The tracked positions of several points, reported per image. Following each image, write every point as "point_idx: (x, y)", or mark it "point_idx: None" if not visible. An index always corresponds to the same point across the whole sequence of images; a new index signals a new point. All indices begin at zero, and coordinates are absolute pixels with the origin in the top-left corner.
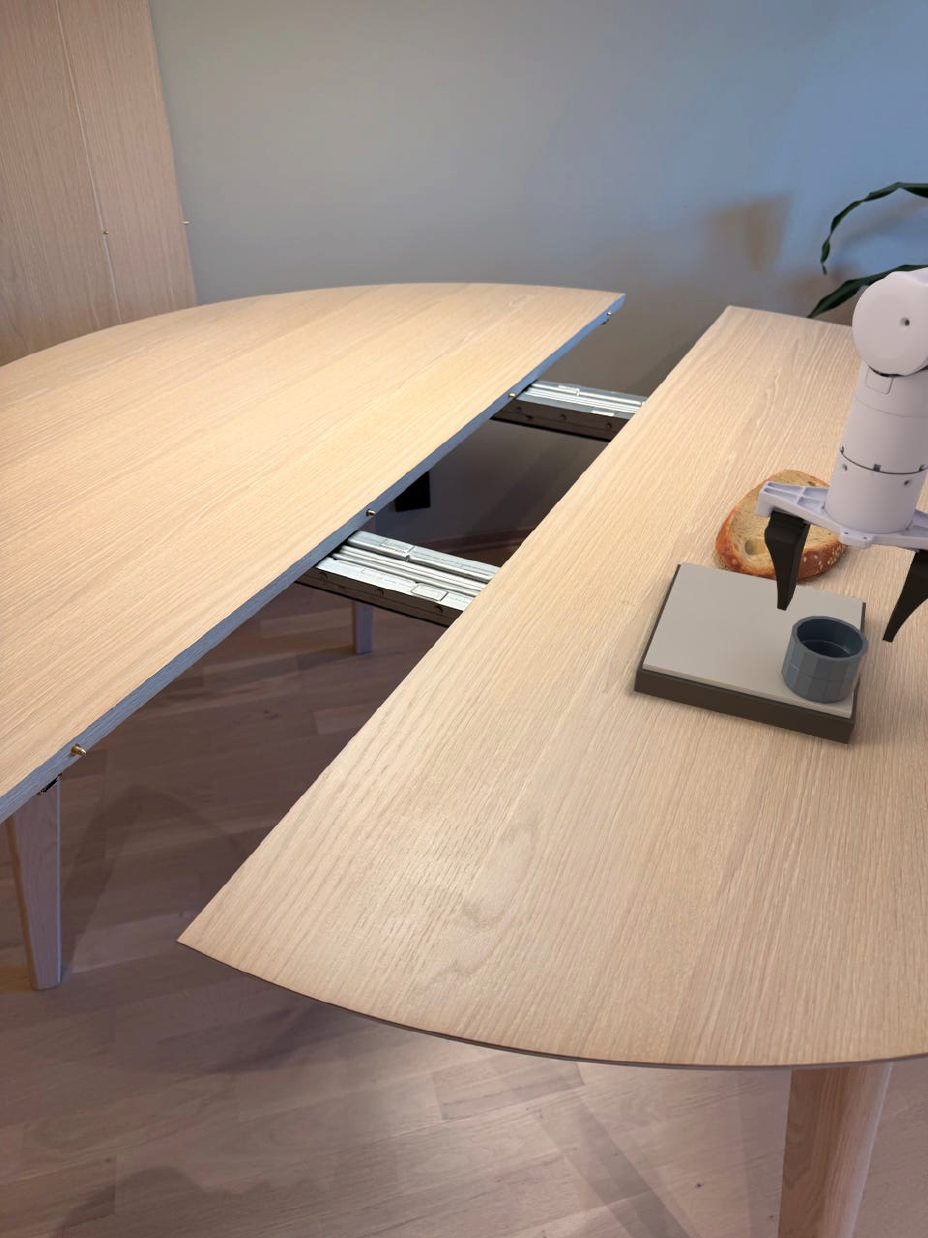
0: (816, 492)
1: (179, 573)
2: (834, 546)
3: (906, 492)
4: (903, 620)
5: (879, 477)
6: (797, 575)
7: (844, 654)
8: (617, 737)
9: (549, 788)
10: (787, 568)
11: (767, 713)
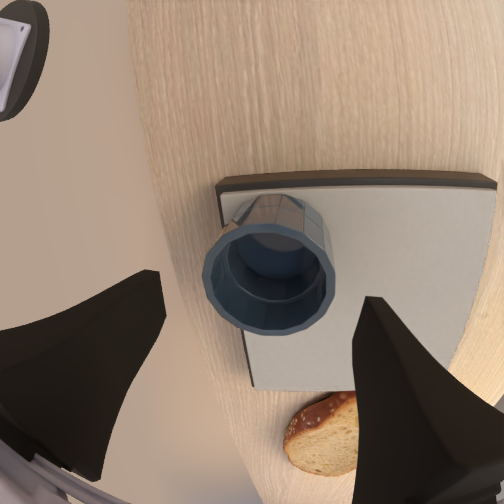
0: None
1: None
2: (293, 434)
3: None
4: (97, 295)
5: None
6: (356, 384)
7: (246, 286)
8: (478, 86)
9: (496, 3)
10: (419, 379)
11: (330, 173)
